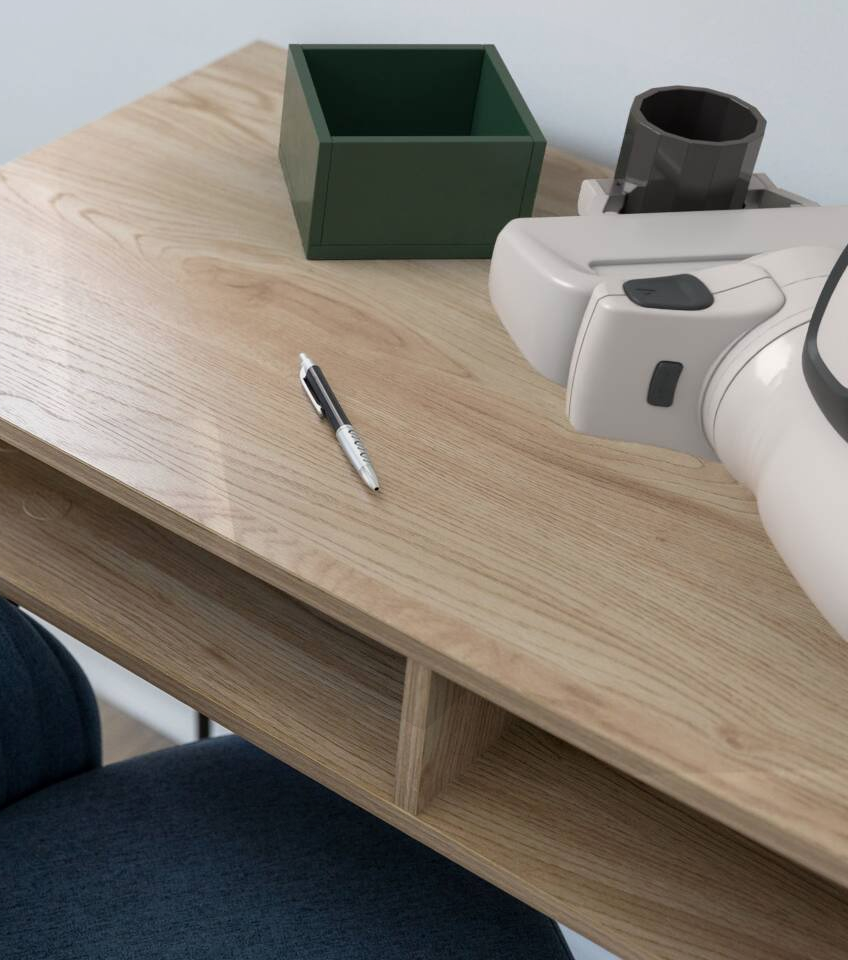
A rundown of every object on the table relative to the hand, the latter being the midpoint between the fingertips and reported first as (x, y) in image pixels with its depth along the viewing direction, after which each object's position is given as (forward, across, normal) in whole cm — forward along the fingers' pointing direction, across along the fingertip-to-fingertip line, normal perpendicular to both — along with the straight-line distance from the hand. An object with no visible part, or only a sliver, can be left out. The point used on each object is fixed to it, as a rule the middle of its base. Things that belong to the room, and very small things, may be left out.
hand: (667, 189), depth 76 cm
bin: (+26, +5, +16) cm, 31 cm away
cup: (-1, 0, +5) cm, 5 cm away
